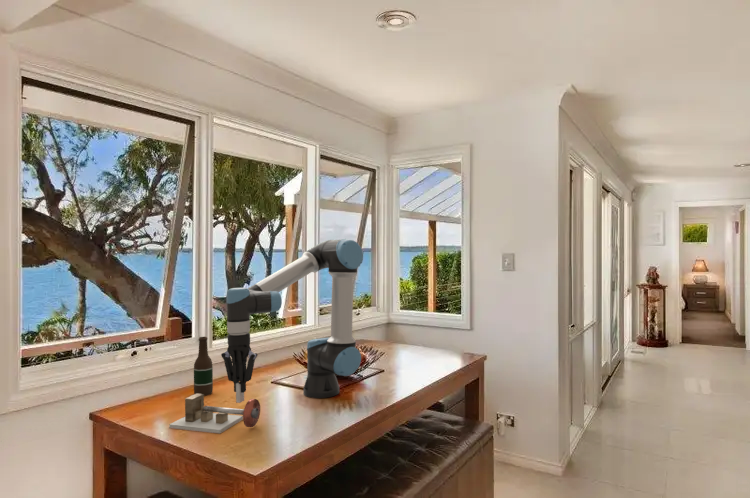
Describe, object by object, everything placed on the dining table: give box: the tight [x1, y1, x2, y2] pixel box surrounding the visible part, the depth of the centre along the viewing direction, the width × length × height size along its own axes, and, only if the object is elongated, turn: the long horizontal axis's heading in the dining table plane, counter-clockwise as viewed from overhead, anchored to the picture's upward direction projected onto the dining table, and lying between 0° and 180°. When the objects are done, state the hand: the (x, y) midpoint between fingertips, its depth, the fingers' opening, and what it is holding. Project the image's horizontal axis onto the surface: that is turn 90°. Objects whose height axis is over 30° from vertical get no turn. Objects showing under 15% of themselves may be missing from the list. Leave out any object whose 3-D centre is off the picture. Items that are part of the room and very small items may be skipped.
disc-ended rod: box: [203, 398, 261, 428], centre depth 168 cm, size 20×9×9 cm, turn 74°
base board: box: [168, 412, 243, 434], centre depth 171 cm, size 20×14×1 cm
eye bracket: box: [184, 393, 229, 424], centre depth 171 cm, size 14×6×8 cm, turn 74°
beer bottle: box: [193, 336, 214, 397], centre depth 207 cm, size 8×8×24 cm
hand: (240, 401), depth 167 cm, fingers closed
